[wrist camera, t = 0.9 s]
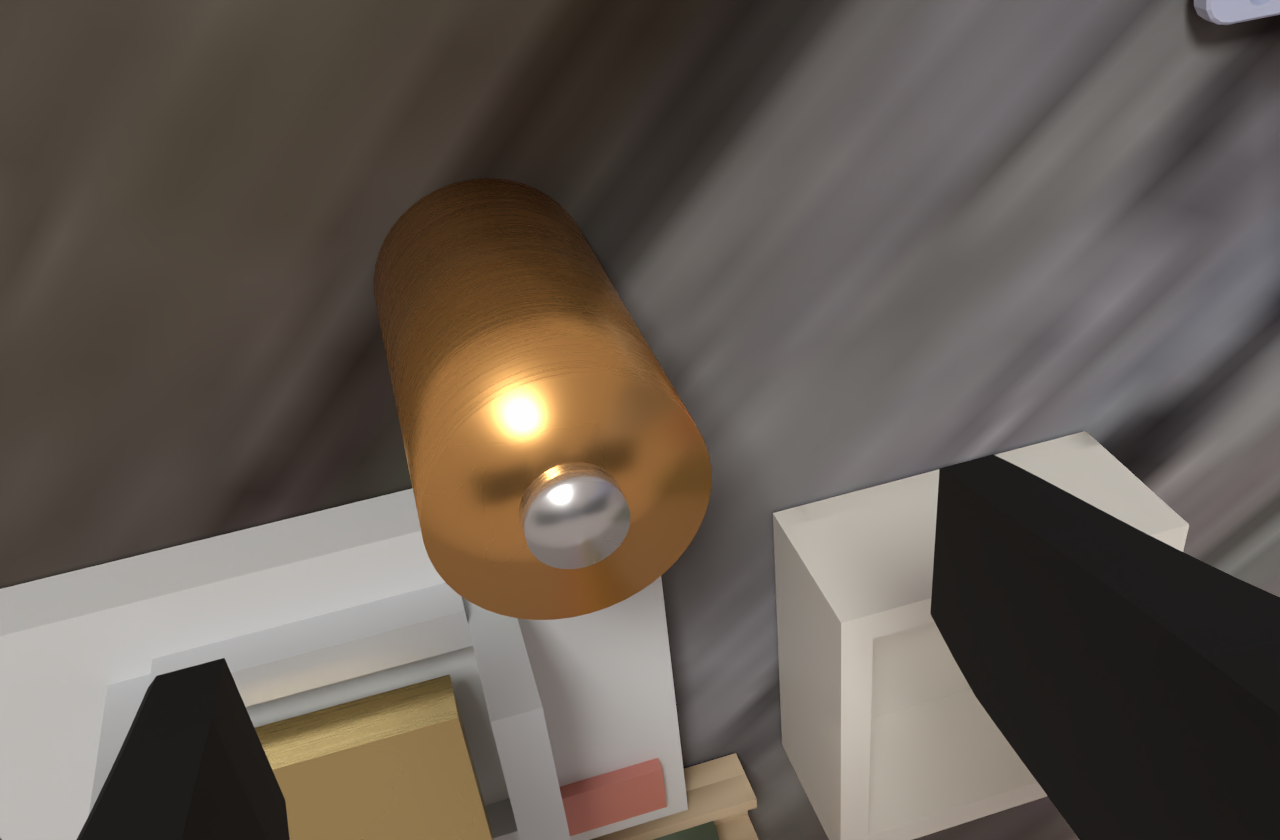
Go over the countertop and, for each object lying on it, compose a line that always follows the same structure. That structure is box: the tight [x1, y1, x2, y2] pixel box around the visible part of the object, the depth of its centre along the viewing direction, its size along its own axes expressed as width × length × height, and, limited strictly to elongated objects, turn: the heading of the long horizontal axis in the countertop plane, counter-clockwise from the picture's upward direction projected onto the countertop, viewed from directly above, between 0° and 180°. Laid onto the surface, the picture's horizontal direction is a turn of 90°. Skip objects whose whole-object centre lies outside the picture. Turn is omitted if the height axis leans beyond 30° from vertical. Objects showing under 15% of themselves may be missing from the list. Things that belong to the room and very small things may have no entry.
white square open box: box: [773, 431, 1189, 840], centre depth 23 cm, size 7×7×3 cm
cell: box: [374, 179, 711, 620], centre depth 15 cm, size 3×3×6 cm
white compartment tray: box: [0, 488, 688, 840], centre depth 20 cm, size 12×9×4 cm
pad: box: [255, 674, 494, 840], centre depth 20 cm, size 4×4×1 cm
